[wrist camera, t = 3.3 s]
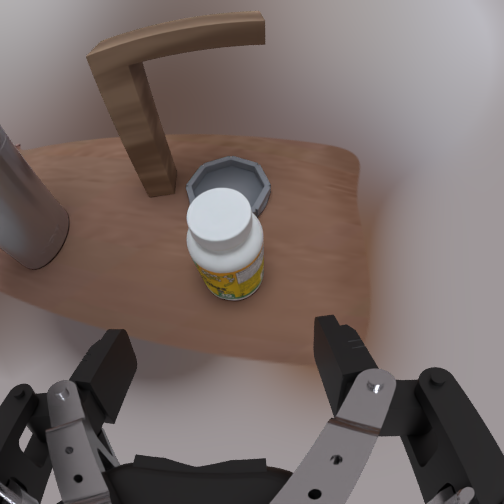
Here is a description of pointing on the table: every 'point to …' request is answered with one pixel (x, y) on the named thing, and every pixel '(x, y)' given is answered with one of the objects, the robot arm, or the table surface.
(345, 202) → the table surface
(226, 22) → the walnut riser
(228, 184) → the locator ring
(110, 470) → the robot arm
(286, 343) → the table surface
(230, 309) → the table surface
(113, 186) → the table surface
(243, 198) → the supplement bottle
